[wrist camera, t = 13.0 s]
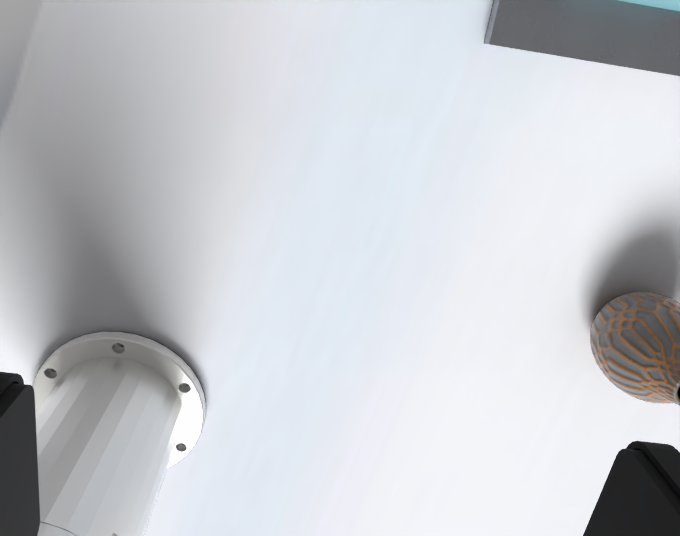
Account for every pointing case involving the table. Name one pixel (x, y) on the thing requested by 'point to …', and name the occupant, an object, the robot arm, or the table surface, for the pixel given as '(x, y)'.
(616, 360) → the vase
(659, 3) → the block with rectangular hole
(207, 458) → the table surface
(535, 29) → the key base
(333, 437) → the table surface
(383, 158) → the table surface
